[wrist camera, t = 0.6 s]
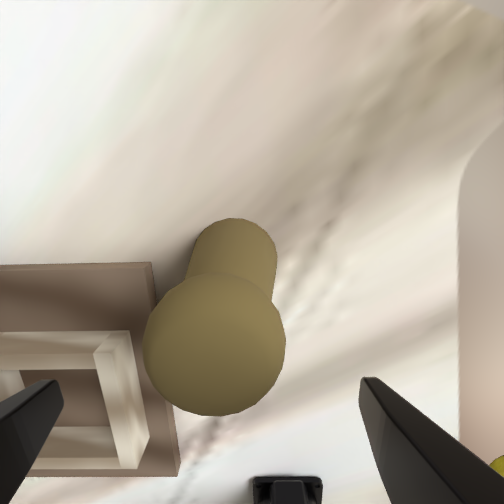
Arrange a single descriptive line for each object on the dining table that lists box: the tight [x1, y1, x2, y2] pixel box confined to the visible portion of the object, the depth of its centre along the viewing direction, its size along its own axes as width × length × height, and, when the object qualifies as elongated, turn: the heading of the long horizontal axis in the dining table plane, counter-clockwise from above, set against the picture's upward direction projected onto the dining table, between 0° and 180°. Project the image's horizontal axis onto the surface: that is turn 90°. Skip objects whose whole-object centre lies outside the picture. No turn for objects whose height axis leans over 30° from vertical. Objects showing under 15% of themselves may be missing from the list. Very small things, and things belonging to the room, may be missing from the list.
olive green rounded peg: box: [142, 218, 286, 416], centre depth 14 cm, size 6×6×11 cm
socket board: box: [0, 262, 181, 477], centre depth 20 cm, size 20×14×4 cm
